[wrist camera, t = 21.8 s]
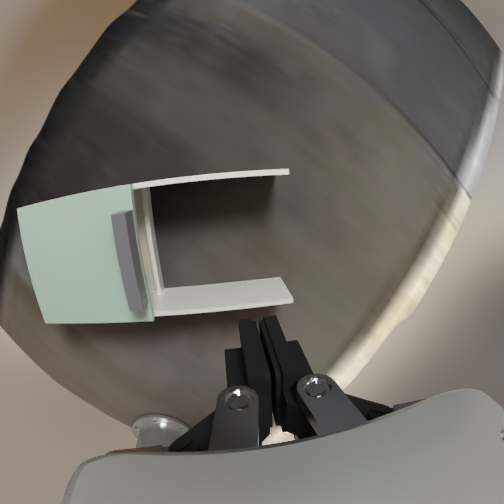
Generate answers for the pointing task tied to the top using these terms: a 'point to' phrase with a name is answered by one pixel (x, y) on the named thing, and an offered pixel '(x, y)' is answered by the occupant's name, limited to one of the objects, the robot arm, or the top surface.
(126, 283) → the lid
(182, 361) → the top surface
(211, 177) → the housing
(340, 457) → the robot arm
